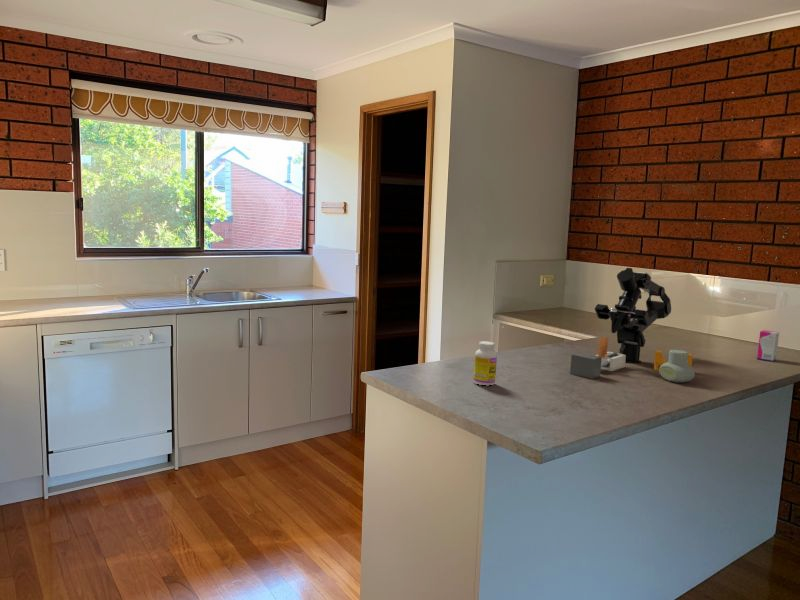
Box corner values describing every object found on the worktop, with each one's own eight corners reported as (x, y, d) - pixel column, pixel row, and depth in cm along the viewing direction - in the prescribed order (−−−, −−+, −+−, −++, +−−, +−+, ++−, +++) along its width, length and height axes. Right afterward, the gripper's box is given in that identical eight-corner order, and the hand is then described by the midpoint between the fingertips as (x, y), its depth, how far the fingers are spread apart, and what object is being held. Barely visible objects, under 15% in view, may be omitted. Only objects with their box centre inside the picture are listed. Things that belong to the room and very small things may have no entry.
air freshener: (654, 377, 213) (657, 348, 212) (672, 375, 216) (675, 347, 215) (679, 385, 203) (683, 355, 202) (698, 384, 206) (701, 354, 205)
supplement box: (776, 360, 252) (780, 331, 250) (772, 362, 247) (776, 333, 246) (760, 357, 256) (763, 329, 254) (756, 359, 251) (759, 331, 250)
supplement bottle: (489, 388, 189) (492, 346, 187) (469, 384, 193) (472, 342, 191) (498, 383, 195) (501, 342, 193) (478, 379, 198) (481, 339, 196)
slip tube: (609, 361, 228) (612, 333, 227) (619, 363, 226) (621, 335, 225) (589, 367, 217) (591, 338, 215) (598, 369, 214) (601, 340, 213)
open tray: (607, 363, 231) (608, 351, 230) (624, 366, 226) (625, 354, 226) (594, 367, 223) (595, 355, 222) (611, 371, 219) (613, 358, 218)
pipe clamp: (654, 370, 224) (656, 352, 223) (653, 367, 228) (655, 350, 227) (691, 374, 220) (693, 356, 219) (689, 371, 224) (691, 354, 223)
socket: (578, 371, 216) (579, 352, 215) (600, 376, 210) (601, 356, 210) (569, 373, 212) (571, 354, 211) (592, 378, 206) (593, 359, 205)
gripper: (658, 317, 228) (643, 351, 222) (610, 310, 241) (594, 341, 234) (652, 297, 221) (636, 331, 215) (602, 291, 234) (586, 323, 227)
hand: (612, 332), depth 223 cm, fingers closed
